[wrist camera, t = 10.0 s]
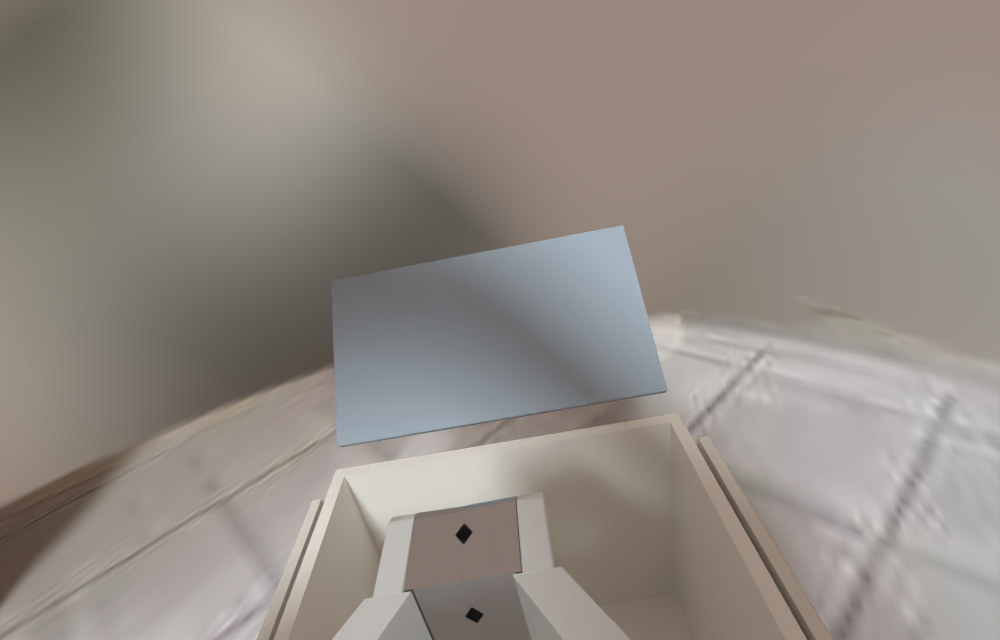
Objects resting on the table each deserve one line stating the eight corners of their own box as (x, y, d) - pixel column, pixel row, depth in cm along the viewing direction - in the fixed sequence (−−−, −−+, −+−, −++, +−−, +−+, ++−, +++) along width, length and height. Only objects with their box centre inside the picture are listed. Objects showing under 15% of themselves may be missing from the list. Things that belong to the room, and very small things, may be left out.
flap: (331, 280, 24) (335, 284, 24) (337, 446, 21) (341, 447, 22) (622, 225, 23) (621, 230, 24) (667, 390, 21) (664, 392, 21)
